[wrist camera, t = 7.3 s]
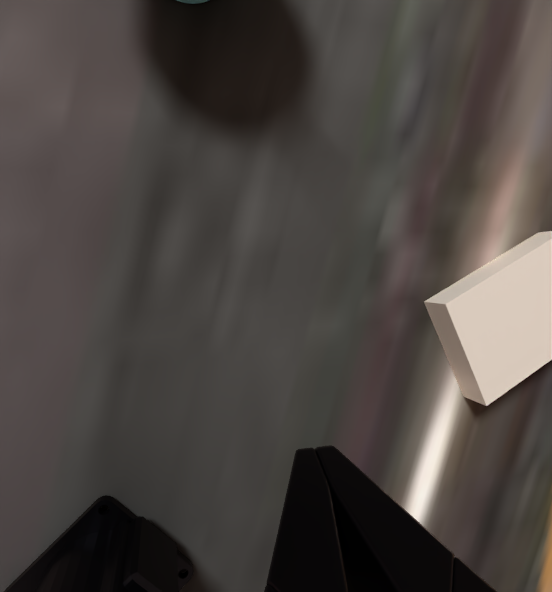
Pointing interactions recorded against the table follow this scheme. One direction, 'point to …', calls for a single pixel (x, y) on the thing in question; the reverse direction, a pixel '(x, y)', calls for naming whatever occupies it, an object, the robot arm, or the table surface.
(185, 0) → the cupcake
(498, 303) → the tile
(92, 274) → the table surface
